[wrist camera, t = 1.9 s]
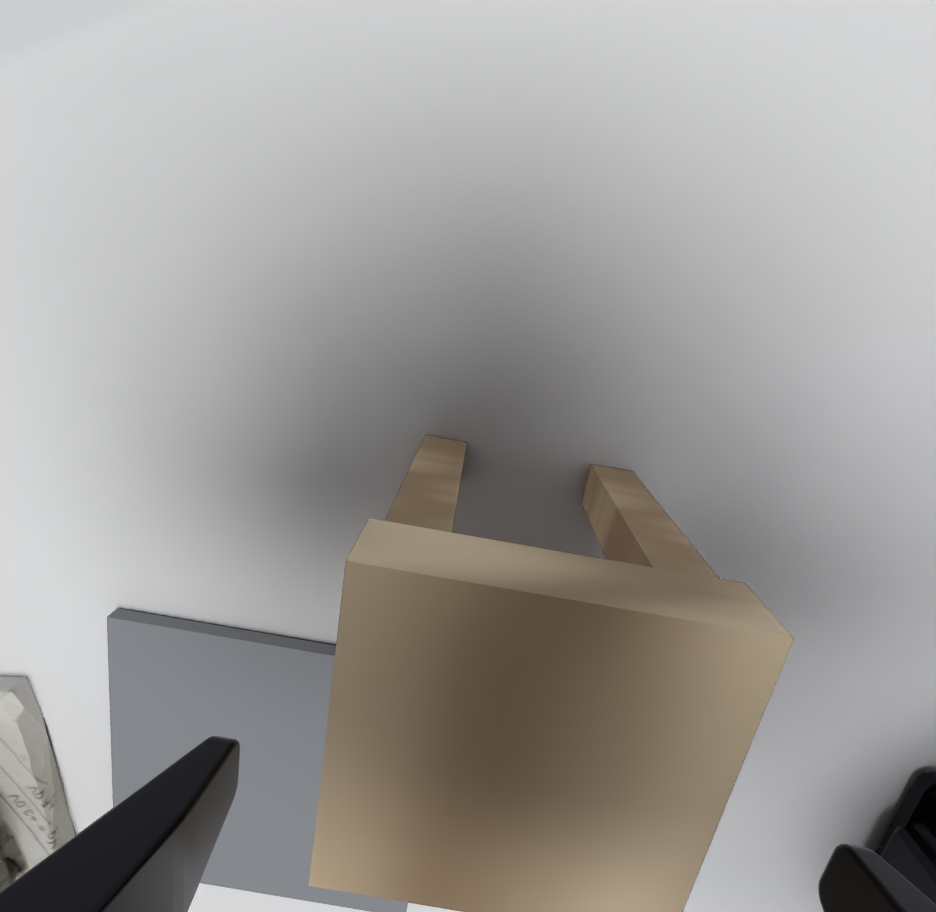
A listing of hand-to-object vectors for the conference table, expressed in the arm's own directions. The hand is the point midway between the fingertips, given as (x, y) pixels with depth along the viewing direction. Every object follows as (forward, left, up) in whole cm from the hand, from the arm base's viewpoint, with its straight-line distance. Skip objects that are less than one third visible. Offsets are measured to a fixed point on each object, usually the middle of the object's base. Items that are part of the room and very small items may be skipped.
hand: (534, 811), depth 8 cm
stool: (0, 0, -9) cm, 9 cm away
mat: (+7, +10, -9) cm, 15 cm away
